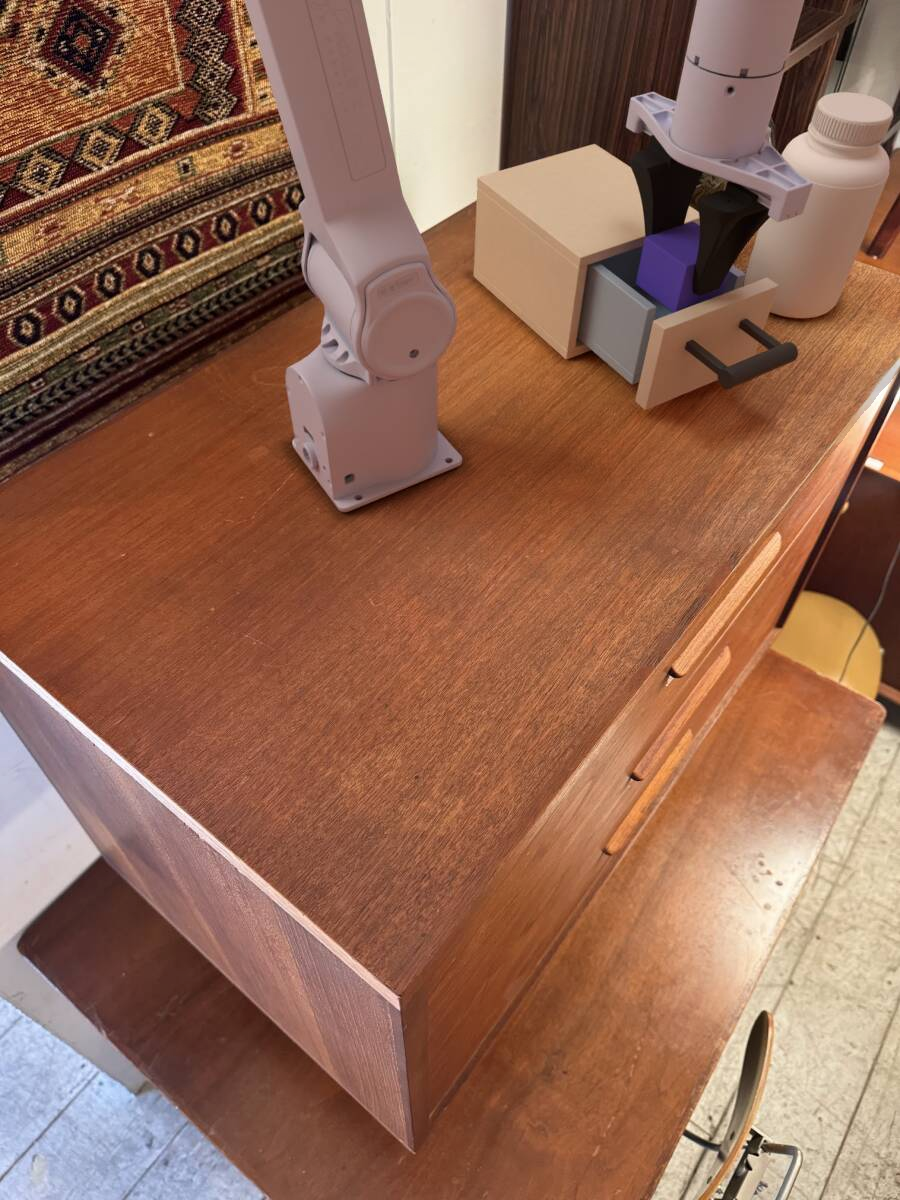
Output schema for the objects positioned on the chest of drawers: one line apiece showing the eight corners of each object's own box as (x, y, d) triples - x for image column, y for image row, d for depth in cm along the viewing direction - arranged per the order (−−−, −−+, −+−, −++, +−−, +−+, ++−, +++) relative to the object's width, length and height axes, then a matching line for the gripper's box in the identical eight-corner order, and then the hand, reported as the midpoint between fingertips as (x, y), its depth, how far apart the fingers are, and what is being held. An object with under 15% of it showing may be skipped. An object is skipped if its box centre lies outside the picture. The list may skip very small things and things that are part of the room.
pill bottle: (827, 271, 76) (899, 86, 64) (844, 325, 71) (925, 134, 59) (736, 265, 76) (791, 80, 64) (746, 318, 71) (808, 127, 60)
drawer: (798, 401, 63) (831, 320, 58) (690, 450, 60) (715, 368, 55) (646, 286, 72) (663, 207, 67) (545, 323, 69) (554, 242, 64)
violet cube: (675, 314, 60) (687, 266, 57) (635, 284, 62) (644, 236, 60) (722, 296, 62) (736, 249, 59) (681, 267, 64) (693, 220, 61)
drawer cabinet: (679, 316, 71) (705, 215, 65) (566, 360, 68) (580, 257, 61) (581, 241, 78) (594, 143, 72) (473, 276, 75) (477, 176, 68)
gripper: (880, 90, 48) (798, 307, 58) (703, 7, 55) (660, 213, 66) (787, 117, 45) (720, 339, 56) (616, 27, 53) (586, 237, 64)
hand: (682, 273), depth 61 cm, fingers closed on violet cube, 4 cm apart
